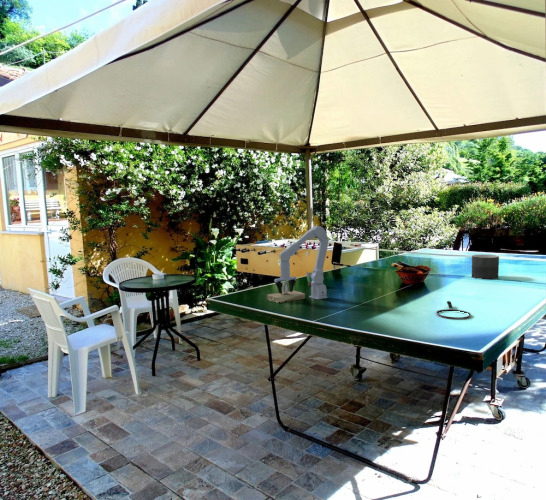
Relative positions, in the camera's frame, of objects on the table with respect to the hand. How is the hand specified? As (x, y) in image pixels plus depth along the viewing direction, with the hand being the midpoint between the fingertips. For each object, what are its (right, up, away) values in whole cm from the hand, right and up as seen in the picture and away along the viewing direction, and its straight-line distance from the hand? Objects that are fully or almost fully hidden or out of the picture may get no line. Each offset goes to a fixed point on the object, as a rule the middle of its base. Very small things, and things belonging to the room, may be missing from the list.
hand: (285, 292), depth 271 cm
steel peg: (0, -4, +1) cm, 4 cm away
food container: (+20, +1, +37) cm, 42 cm away
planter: (+147, +6, +53) cm, 157 cm away
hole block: (0, -4, 0) cm, 4 cm away
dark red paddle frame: (+85, -7, -42) cm, 95 cm away
